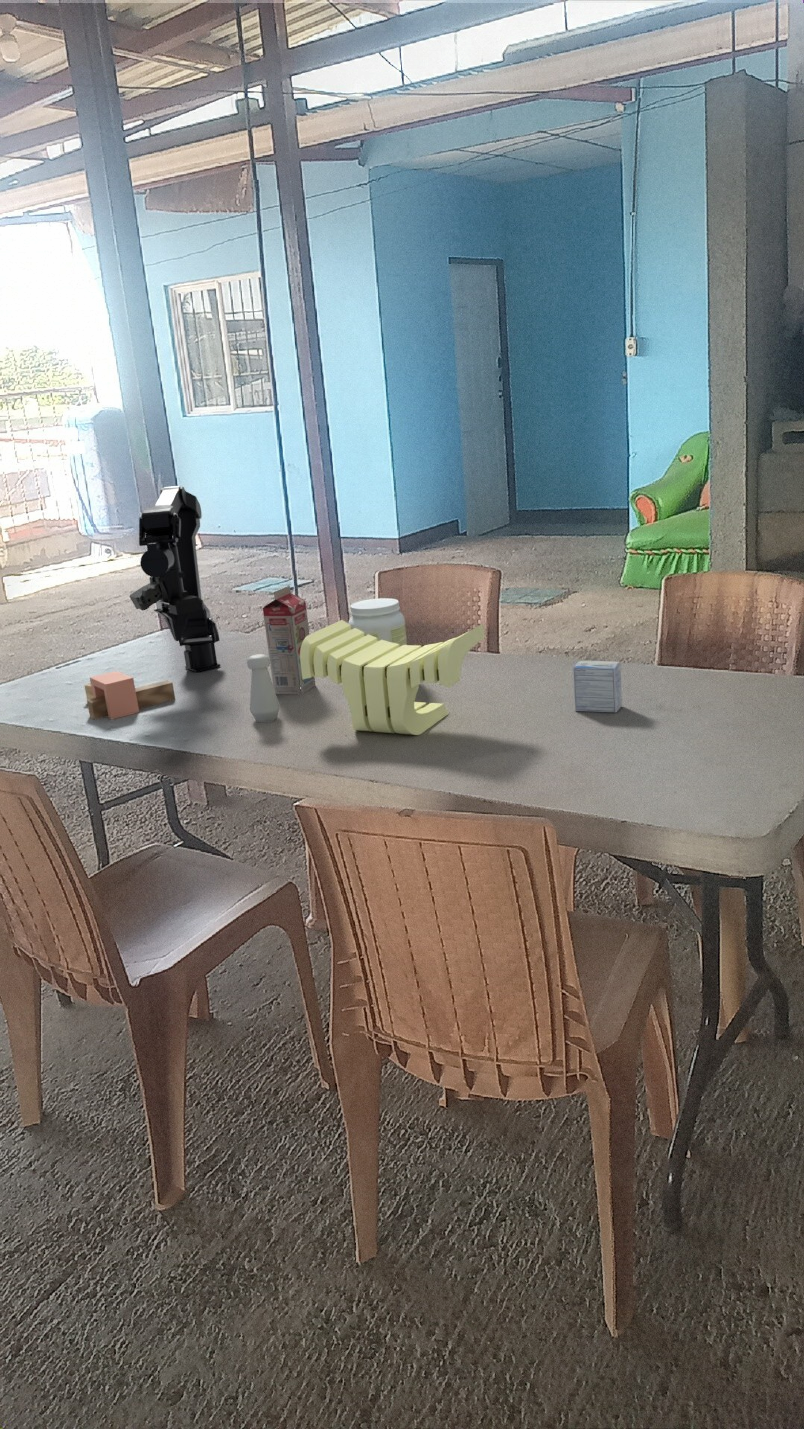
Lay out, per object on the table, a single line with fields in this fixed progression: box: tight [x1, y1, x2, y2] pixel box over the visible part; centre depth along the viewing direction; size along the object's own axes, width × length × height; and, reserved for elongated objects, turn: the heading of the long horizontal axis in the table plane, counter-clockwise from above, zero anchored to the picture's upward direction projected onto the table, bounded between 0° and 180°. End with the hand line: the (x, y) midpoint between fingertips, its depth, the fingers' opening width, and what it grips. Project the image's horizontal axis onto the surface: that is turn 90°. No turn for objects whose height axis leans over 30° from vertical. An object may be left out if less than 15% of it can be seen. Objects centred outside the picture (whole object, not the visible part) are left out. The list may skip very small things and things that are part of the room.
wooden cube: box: [84, 682, 93, 701], centre depth 237 cm, size 4×4×4 cm
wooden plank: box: [86, 680, 176, 720], centre depth 229 cm, size 18×3×4 cm, turn 125°
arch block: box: [89, 670, 140, 720], centre depth 226 cm, size 6×9×8 cm, turn 36°
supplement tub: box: [347, 597, 408, 647], centre depth 230 cm, size 12×12×17 cm
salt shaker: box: [246, 653, 280, 724], centre depth 210 cm, size 6×6×13 cm
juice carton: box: [262, 585, 316, 695], centre depth 228 cm, size 7×7×22 cm
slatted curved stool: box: [300, 619, 485, 736], centre depth 199 cm, size 30×16×18 cm, turn 63°
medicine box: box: [572, 660, 623, 714], centre depth 198 cm, size 8×4×9 cm, turn 65°
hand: (177, 640), depth 232 cm, fingers closed
